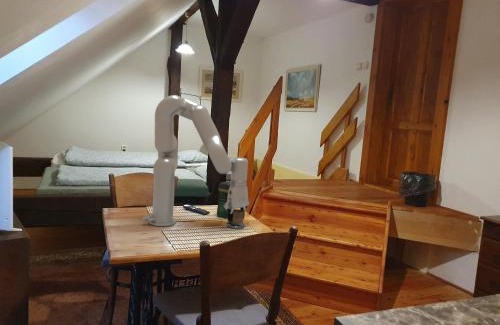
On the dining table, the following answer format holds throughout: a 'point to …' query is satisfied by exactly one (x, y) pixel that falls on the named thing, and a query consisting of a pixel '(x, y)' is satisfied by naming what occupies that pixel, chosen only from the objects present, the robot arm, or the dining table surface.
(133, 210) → the dining table surface
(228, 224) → the post
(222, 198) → the coffee jar
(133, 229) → the dining table surface
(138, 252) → the dining table surface
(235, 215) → the collar
